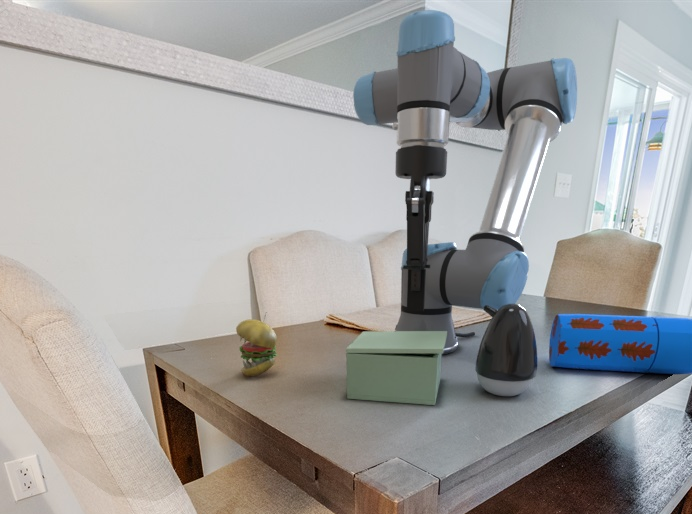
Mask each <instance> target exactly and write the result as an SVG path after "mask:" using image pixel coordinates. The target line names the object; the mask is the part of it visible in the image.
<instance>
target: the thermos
mask: <svg viewBox="0 0 692 514" xmlns="http://www.w3.org/2000/svg"><path fill="white" fill-rule="evenodd" d="M550 329H551V330H550V335H549V343H548V344H549V345H548V360H549V364H550V366H551V367H553V368H563V369H572V370H573V369H574V370H590V371H591V370H592V371H606V372H607V371H609V372H624V373H625V372H627V373H645V374H661V375H690V374H692V318H687V317H669V316H645V315H644V316H642V315H641V316H639V315H616V314H615V315H612V314H592V313H591V314H588V313H586V314H585V313H558V314H556V315H555V316H554V319H553V321H552V325H551V328H550Z"/></svg>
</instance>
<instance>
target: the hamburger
mask: <svg viewBox="0 0 692 514" xmlns="http://www.w3.org/2000/svg"><path fill="white" fill-rule="evenodd" d="M267 313H268V312H267V311H266V312H265V314H264V315H263V321H261V320H258V319H248V318H247V319H244V320H242V321H240V322H239V323H238V324H237V326H236V328H235V331H236V334H237V335H238V336H239V339H240V340H239V341H240V342H241V341H242V340H243V343H242V344H241V346H239V351H240V353H241V355H240V358H242V363H243V367H242V368H241V370H240V371H241V373H242V375H244V376H246V377H254V376H258V375H261V374H263V373H265V372H267V371H268V370H270V369H271V368H272V367H273V366H274V364H275V362H276V357H277V355H278V353H277V352H276V351H277V346H276V345H277V341H278V338H277V336H278V335H277V334H276V332H275V330H274V328H272V327H271V326H270V325H268V324H267V323H265V320H266V316H267ZM250 359H251V362H250Z"/></svg>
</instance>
